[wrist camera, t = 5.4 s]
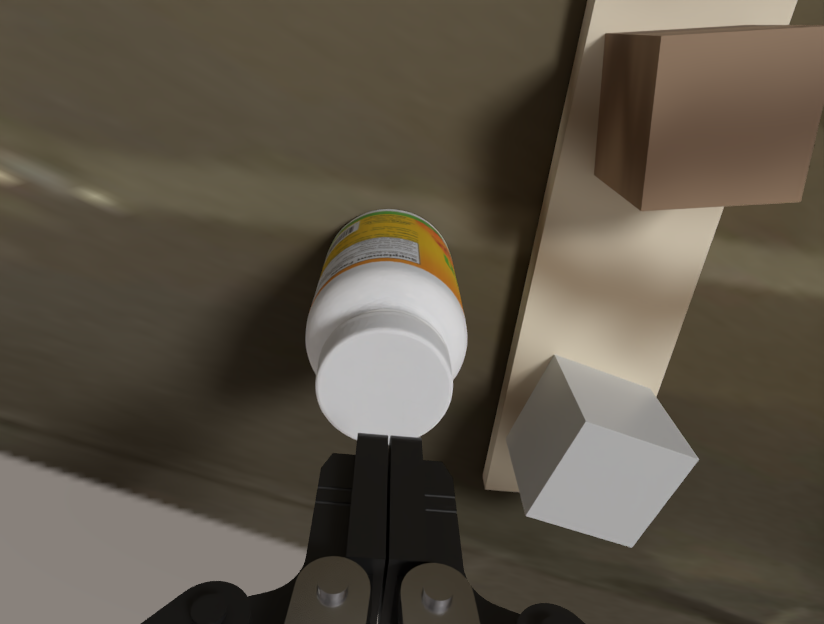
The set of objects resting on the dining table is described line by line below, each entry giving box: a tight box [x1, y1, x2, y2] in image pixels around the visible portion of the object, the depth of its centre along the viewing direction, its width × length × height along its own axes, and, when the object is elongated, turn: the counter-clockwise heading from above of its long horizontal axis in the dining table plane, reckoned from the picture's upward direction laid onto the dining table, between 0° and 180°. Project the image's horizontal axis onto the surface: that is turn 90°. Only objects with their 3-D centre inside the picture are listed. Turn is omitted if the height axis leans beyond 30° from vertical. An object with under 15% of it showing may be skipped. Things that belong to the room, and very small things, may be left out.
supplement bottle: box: [305, 209, 467, 445], centre depth 21 cm, size 5×5×10 cm
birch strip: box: [483, 0, 797, 492], centre depth 26 cm, size 24×7×1 cm, turn 173°
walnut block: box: [594, 25, 824, 211], centre depth 20 cm, size 5×5×5 cm
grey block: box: [506, 354, 699, 547], centre depth 26 cm, size 5×5×5 cm
